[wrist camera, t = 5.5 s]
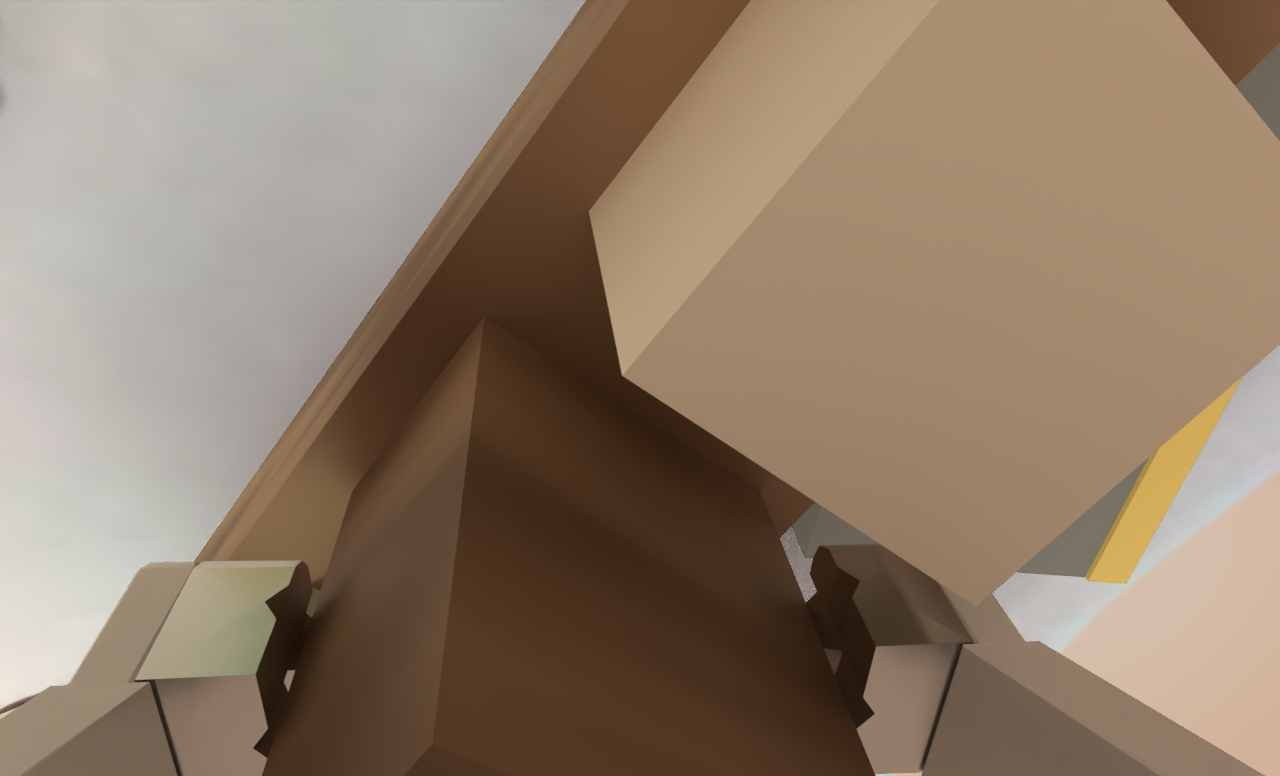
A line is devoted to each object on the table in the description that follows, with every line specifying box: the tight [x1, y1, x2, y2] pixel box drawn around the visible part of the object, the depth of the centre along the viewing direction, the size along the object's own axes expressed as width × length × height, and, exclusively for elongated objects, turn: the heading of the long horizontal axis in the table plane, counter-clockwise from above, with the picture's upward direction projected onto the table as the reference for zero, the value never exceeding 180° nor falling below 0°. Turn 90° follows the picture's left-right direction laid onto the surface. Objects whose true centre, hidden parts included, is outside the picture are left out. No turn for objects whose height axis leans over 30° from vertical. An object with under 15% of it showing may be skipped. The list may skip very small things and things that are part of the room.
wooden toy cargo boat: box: [194, 0, 1280, 776], centre depth 10 cm, size 20×6×10 cm, turn 141°
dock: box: [792, 43, 1280, 583], centre depth 26 cm, size 22×12×3 cm, turn 170°
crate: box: [589, 0, 1280, 606], centre depth 8 cm, size 4×4×4 cm
